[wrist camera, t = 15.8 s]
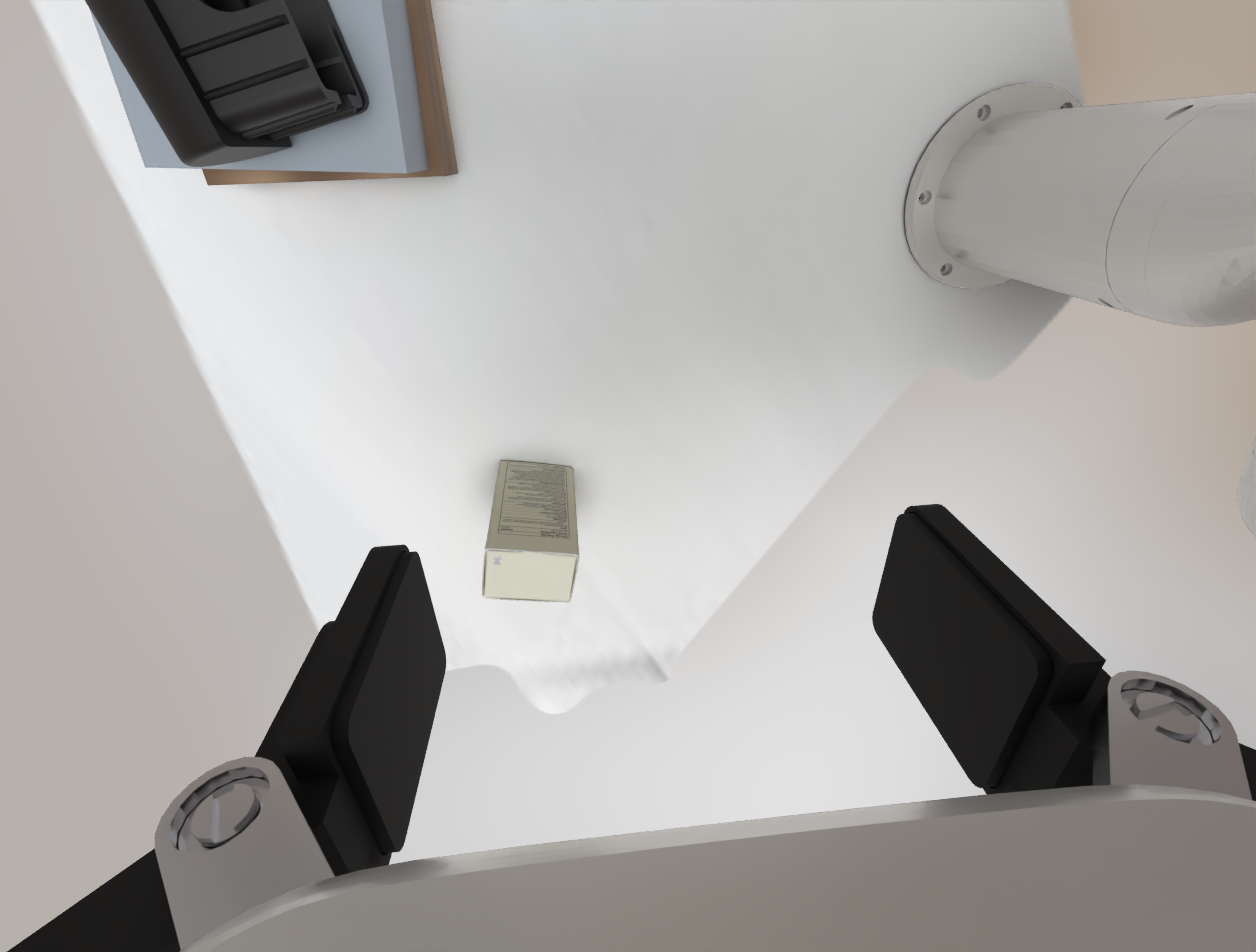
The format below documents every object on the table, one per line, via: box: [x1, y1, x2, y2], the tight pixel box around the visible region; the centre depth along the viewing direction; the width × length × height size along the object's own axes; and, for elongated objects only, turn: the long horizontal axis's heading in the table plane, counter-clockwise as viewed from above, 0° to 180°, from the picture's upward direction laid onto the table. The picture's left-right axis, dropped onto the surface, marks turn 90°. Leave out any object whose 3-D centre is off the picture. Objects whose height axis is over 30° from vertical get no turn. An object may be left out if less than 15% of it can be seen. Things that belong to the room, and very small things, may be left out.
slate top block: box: [89, 0, 429, 173], centre depth 26 cm, size 12×12×5 cm
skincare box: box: [482, 461, 579, 602], centre depth 43 cm, size 6×4×12 cm
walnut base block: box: [202, 0, 458, 185], centre depth 31 cm, size 13×13×5 cm
